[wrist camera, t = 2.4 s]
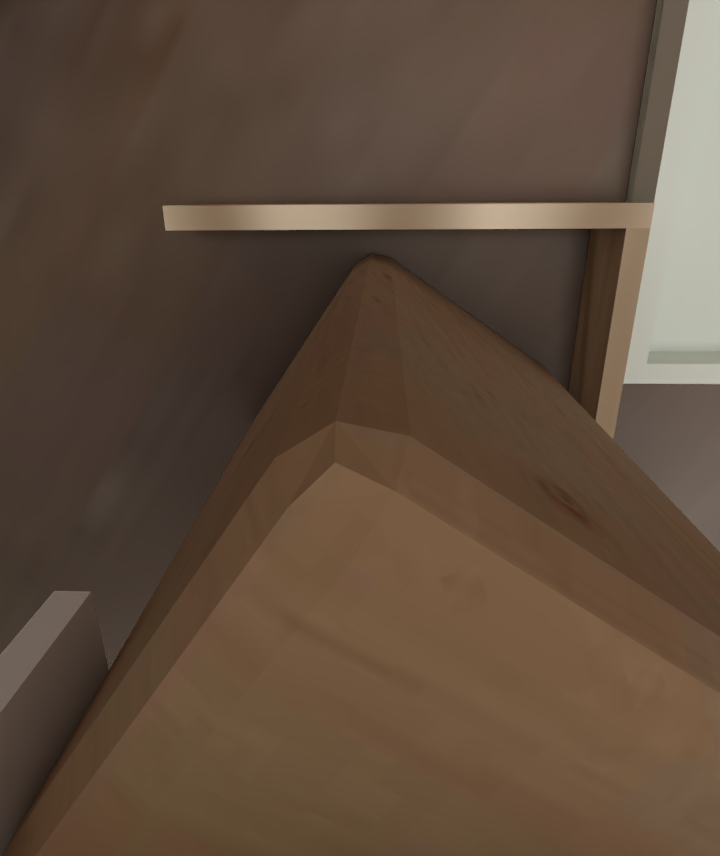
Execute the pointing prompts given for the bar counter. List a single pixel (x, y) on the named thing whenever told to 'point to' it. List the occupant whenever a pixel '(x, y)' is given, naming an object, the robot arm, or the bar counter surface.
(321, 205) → the bay
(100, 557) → the bar counter surface
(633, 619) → the wooden block
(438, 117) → the bar counter surface
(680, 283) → the tray
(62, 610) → the robot arm
